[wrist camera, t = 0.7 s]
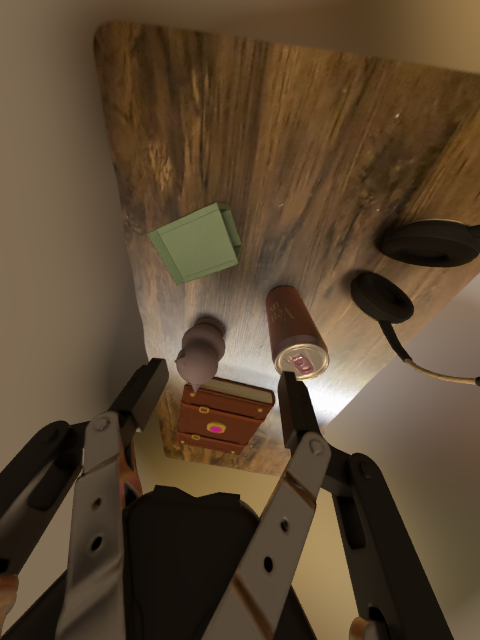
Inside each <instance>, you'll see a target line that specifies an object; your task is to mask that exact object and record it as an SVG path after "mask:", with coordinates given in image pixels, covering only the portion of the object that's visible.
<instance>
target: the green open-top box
mask: <svg viewBox="0 0 480 640" xmlns="http://www.w3.org/2000/svg"><path fill="white" fill-rule="evenodd" d="M148 236H149V238H150V240H151V241H152V243H153V245H154V246H155V248H156V250H157V252H158V253H159V255H160V257H161V259H162V260H163V262H164V264H165V266H166V267H167V269H168V271H169V273H170V274H171V276H172V278H173V280H174V281H175V283H176V285H180V284H182V283H185V282H188V281H191V280H194V279H197V278H200V277H203V276H205V275H208V274H211V273H214V272H217V271H220V270H223V269H226V268H229V267H231V266H234V265H237V264H238V263H239V260H240V257H241V253H242V250H243V246H242V243H241V240H240V237H239V234H238V231H237V228H236V225H235V222H234V219H233V216H232V213H231V209H230V206H229V204H224V203H218V202H215V203H213V204H211V205H209V206H206V207H204V208H202V209H200V210H198V211H196V212H193V213H191V214H189V215H187V216H185V217H182V218H180V219H178V220H176V221H174V222H171V223H169V224H167V225H165V226H163V227H160V228H158V229H156V230H154V231H152V232H149V233H148Z"/></svg>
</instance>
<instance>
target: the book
mask: <svg viewBox="0 0 480 640" xmlns="http://www.w3.org/2000/svg"><path fill="white" fill-rule="evenodd" d="M274 404H275V395H274V393H273V392H272V391H270V390H266V389H261V388H257V387H253V386H249V385H245V384H240V383H236V382H232V381H228V380H224V379H220V378H215V377H213V378H212V379H211V380H209V381H208V382H206V383H203V384H201V385H200V387H199V388H198V390H197V391H196V393H194V390H193V387H192V383H189V382H188V385H187V384H186V385H184V391H183V397H182V400H181V411H180V417H179V424H178V428H177V437H176V442H177V443H182V444H187V445H192V446H197V447H202V448H207V449H212V450H217V451H222V452H227V453H232V454H237V455H239V454H240V453H241V451H242V450H243V448H244V447H246V446H247V444H248V442H249V440H250V439H251V437H252V436H253V434H254V433H255V431H256V430H257V429H258V427H259V426H260V424H261V423H262V422H264V420H265V419H266V416H267V414H268V413H269V412H270V410H271V409H272V407H273V406H274Z"/></svg>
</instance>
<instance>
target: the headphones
mask: <svg viewBox="0 0 480 640" xmlns="http://www.w3.org/2000/svg"><path fill="white" fill-rule="evenodd" d="M382 251H383V252H384V254H385V255H387V256H388V257H390V258H392V259H395V260H398V261H401V262H404V263H409V264H413V265H419V266H427V267H456V266H460V265H463V264H466V263H469V262H471V261H472V260H473V259H474V258H476V257H477V256H478V254H479V253H480V225H475V226H470V225H468V224H466V223H463V222H459V221H454V220H447V219H424V220H418V221H413V222H410V223H408V224H406V225H403V226H401V227H399V228H397V229H395V230H393V231H391V232H390V233H389V234H388V235H387V236H386V237H385V239H384V241H383V243H382ZM351 297H352V300H353V302H354V304H355V305H356V306H357V307H358V309H359V310H360V311H362V312H363V313H364V314H365V315H367V316H368V317H370V318H372V319H374V320H376V321H378V322H379V324H380V327H381V329H382V331H383V333H384V335H385V336H386V338H387V340H388V342H389V343H390V345H391V347H392V348H393V350H394V351H395V352H396V353H397V354H398V356H399V357H400V358H401V359H402V360H403V362H405V363H407V364H408V365H410V366H411V367H412V368H414V369H416V370H418V371H420V372H422V373H424V374H426V375H429V376H432V377H435V378H438V379H442V380H447V381H452V382H460V383H468V384H476V385H478V386H480V377H477V378H459V377H452V376H446V375H441V374H438V373H434V372H431V371H429V370H426V369H424V368H422V367H420V366H418V365H416V364H415V363H414V362H413V361H412V359H411V357H410V356H409V355H408V354H407V352H406V351H405V350H404V348H403V347H402V346H401V344H400V342H399V340H398V338H397V336H396V334H395V332H394V329H393V327H392V325H391V323H392V324H398V323H402V322H404V321H406V320H408V319H409V318H411V316H412V315H413V313H414V306H413V304H412V302H411V300H410V299H409V298H408V296H407V295H406V294H405V293H404V292H403V291H402V290H401V289H400V288H399V287H397V286H396V285H395V284H393V283H392V282H390V281H389V280H387V279H386V278H384V277H382V276H379V275H377V274H374V273H362V274H361V275H358V276H357V277H356V278H355V279H354V280H353V281H352V283H351Z"/></svg>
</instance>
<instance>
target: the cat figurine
mask: <svg viewBox="0 0 480 640" xmlns="http://www.w3.org/2000/svg"><path fill="white" fill-rule="evenodd" d="M223 335H224V328H223V326H222V324H221V323H219V322H218V321H217V320H215V319H212V318H202V319H199V320H198V321H197V322H196V323H195V325H194V326H193V327H191V328H190V329H189V330H187V331H186V332H185V334H184V336H183V339H182V350H181V351H180V352H179V354H178V356H177V360H175V362H176V366H177V370H178V372H179V374H180V376H181V377H182V378H183V379H184V380H186V381H187V382H189V383H192V387H193V390H194V393H196V391H197V390H198V388H199V387H200V385H201V384H203V383H206V382H208V381H209V380H211V379H212V378H213V377H214V375H215V374H216V372H217V369H218V362H219V361H220V360H221V358H222V357H223V355H224V352H225V342H224V339H223Z"/></svg>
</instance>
